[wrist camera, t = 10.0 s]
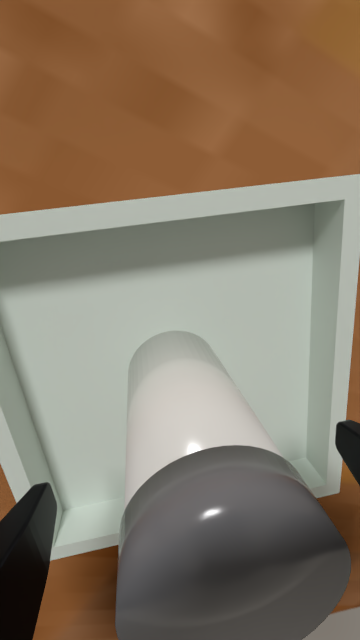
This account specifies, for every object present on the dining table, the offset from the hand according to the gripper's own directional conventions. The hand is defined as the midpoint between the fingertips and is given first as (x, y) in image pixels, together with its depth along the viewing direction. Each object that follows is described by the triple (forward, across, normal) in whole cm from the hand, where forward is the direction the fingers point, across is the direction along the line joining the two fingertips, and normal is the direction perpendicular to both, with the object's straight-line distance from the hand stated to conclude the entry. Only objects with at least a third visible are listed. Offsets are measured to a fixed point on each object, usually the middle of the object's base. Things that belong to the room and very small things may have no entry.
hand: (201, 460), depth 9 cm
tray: (+6, 0, 0) cm, 6 cm away
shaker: (+6, 0, 0) cm, 6 cm away
